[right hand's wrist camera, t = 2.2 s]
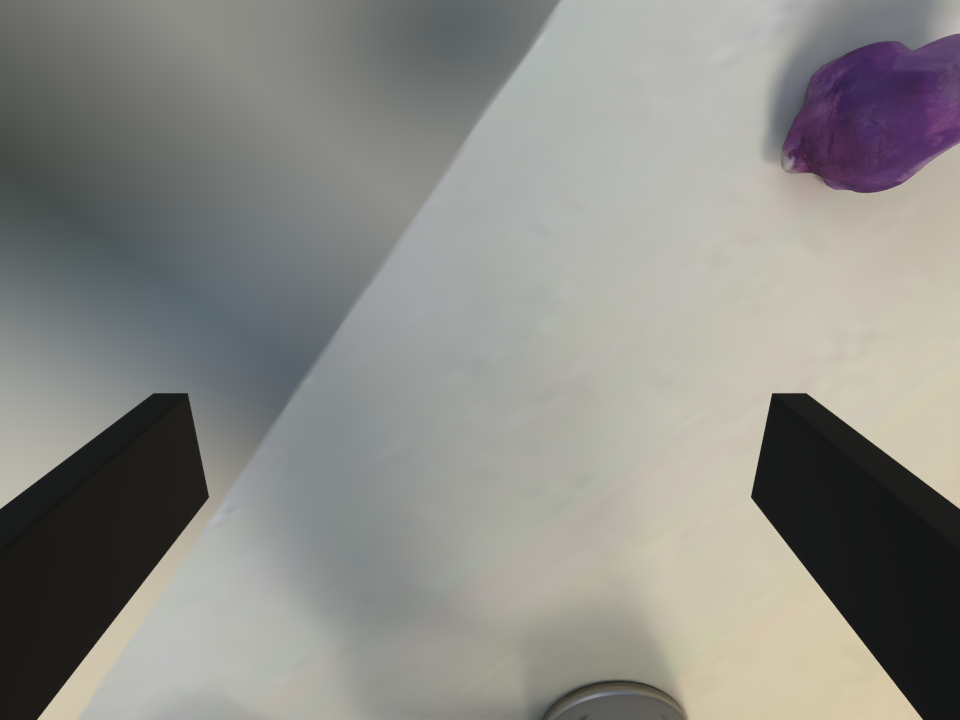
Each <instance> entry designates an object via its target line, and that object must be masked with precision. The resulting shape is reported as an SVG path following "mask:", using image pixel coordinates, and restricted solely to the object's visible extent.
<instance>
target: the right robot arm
mask: <svg viewBox="0 0 960 720" xmlns="http://www.w3.org/2000/svg"><path fill="white" fill-rule="evenodd" d="M208 498H209V495H208V490H207V485H206V480H205V475H204V471H203V466H202V461H201V456H200V451H199V446H198V441H197V436H196V431H195V426H194V422H193V417H192V412H191V407H190V402H189V397H188V394H187V393H154V394H152V395H151V396H150V397H148V398H147V399H146V400H144V401H143V402H142V403H140V404H139V405H138V406H136V407H135V408H134V409H132V410H131V411H130V412H128V413H127V414H126V415H124V416H123V417H122V418H120V419H119V420H118V421H116V422H115V423H114V424H112V425H111V426H110V427H109V428H107V429H106V430H104V431H103V432H102V433H101V434H99V435H98V436H96V437H95V438H94V439H93V440H91V441H90V442H89V443H87V444H86V445H85V446H83V447H82V448H81V449H79V450H78V451H77V452H75V453H74V454H73V455H71V456H70V457H69V458H67V459H66V460H65V461H63V462H62V463H61V464H59V465H58V466H57V467H55V468H54V469H53V470H51V471H50V472H49V473H47V474H46V475H45V476H43V477H42V478H41V479H40V480H38V481H37V482H36V483H34V484H33V485H32V486H30V487H29V488H28V489H26V490H25V491H24V492H22V493H21V494H20V495H18V496H17V497H16V498H14V499H13V500H12V501H10V502H9V503H8V504H6V505H5V506H4V507H2V508H1V509H0V720H37V719H38V718H39V716H40V715H41V714H42V713H43V711H44V710H45V709H46V707H47V706H48V705H49V703H50V702H51V701H52V700H53V698H54V697H55V696H56V694H57V693H58V692H59V691H60V689H61V688H62V687H63V685H64V684H65V683H66V681H67V680H68V679H69V678H70V676H71V675H72V674H73V672H74V671H75V670H76V669H77V667H78V666H79V665H80V663H81V662H82V661H83V659H84V658H85V657H86V656H87V654H88V653H89V652H90V650H91V649H92V648H93V647H94V645H95V644H96V643H97V641H98V640H99V639H100V638H101V636H102V635H103V634H104V632H105V631H106V630H107V628H108V627H109V626H110V625H111V623H112V622H113V621H114V619H115V618H116V617H117V616H118V614H119V613H120V612H121V610H122V609H123V608H124V607H125V605H126V604H127V603H128V601H129V600H130V599H131V597H132V596H133V595H134V594H135V592H136V591H137V590H138V588H139V587H140V586H141V585H142V583H143V582H144V581H145V579H146V578H147V577H148V576H149V574H150V573H151V572H152V570H153V569H154V568H155V566H156V565H157V564H158V563H159V561H160V560H161V559H162V557H163V556H164V555H165V554H166V552H167V551H168V550H169V548H170V547H171V546H172V544H173V543H174V542H175V541H176V539H177V538H178V537H179V535H180V534H181V533H182V531H183V530H184V529H185V528H186V526H187V525H188V524H189V523H190V521H191V520H192V519H193V517H194V516H195V515H196V513H197V512H198V511H199V510H200V508H201V507H202V506H203V504H204V503H205V502H206V501H207V499H208ZM751 498H752V499H753V501H754V502H755V503H756V504H757V506H758V507H759V508H760V510H761V511H762V512H763V513H764V515H765V516H766V517H767V519H768V520H769V521H770V523H771V524H772V525H773V526H774V528H775V529H776V530H777V532H778V533H779V534H780V535H781V537H782V538H783V539H784V541H785V542H786V543H787V544H788V546H789V547H790V548H791V550H792V551H793V552H794V554H795V555H796V556H797V557H798V559H799V560H800V561H801V563H802V564H803V565H804V566H805V568H806V569H807V570H808V572H809V573H810V574H811V576H812V577H813V578H814V579H815V581H816V582H817V583H818V585H819V586H820V587H821V588H822V590H823V591H824V592H825V594H826V595H827V596H828V597H829V599H830V600H831V601H832V603H833V604H834V605H835V607H836V608H837V609H838V610H839V612H840V613H841V614H842V616H843V617H844V618H845V619H846V621H847V622H848V623H849V625H850V626H851V627H852V629H853V630H854V631H855V632H856V634H857V635H858V636H859V638H860V639H861V640H862V641H863V643H864V644H865V645H866V647H867V648H868V649H869V650H870V652H871V653H872V654H873V656H874V657H875V658H876V660H877V661H878V662H879V663H880V665H881V666H882V667H883V669H884V670H885V671H886V672H887V674H888V675H889V676H890V678H891V679H892V680H893V681H894V683H895V684H896V685H897V687H898V688H899V689H900V691H901V692H902V693H903V694H904V696H905V697H906V698H907V700H908V701H909V702H910V703H911V705H912V706H913V707H914V709H915V710H916V711H917V713H918V714H919V715H920V716H921V718H922V719H923V720H960V509H959V508H958V507H956V506H955V505H954V504H952V503H951V502H950V501H948V500H947V499H946V498H944V497H943V496H942V495H940V494H939V493H938V492H936V491H935V490H934V489H932V488H931V487H930V486H928V485H927V484H926V483H924V482H923V481H922V480H920V479H919V478H918V477H917V476H915V475H914V474H913V473H911V472H910V471H909V470H907V469H906V468H905V467H903V466H902V465H901V464H899V463H898V462H897V461H895V460H894V459H893V458H891V457H890V456H889V455H887V454H886V453H885V452H883V451H882V450H881V449H879V448H878V447H877V446H875V445H874V444H873V443H871V442H870V441H869V440H867V439H866V438H865V437H864V436H862V435H861V434H860V433H858V432H857V431H856V430H854V429H853V428H852V427H850V426H849V425H848V424H846V423H845V422H844V421H842V420H841V419H840V418H838V417H837V416H836V415H834V414H833V413H832V412H830V411H829V410H828V409H826V408H825V407H824V406H822V405H821V404H820V403H818V402H817V401H816V400H814V399H813V398H812V397H811V396H809V395H808V394H807V393H772V397H771V402H770V407H769V412H768V417H767V422H766V426H765V431H764V436H763V441H762V446H761V451H760V456H759V461H758V465H757V470H756V475H755V480H754V485H753V490H752V495H751ZM542 720H687V719H686V716H685V714H684V712H683V710H682V709H681V707H680V706H679V705H678V704H677V703H676V702H675V701H674V700H673V699H672V698H670V697H669V696H668V695H666V694H664V693H663V692H661V691H659V690H657V689H654V688H651V687H649V686H645V685H641V684H636V683H628V682H610V683H602V684H596V685H592V686H588V687H585V688H582V689H579V690H577V691H575V692H572V693H571V694H569V695H567V696H565V697H564V698H562V699H561V700H559V701H558V702H557V703H555V704H554V705H553V706H552V707H551V708H550V709H549V710H548V711H547V713H546V714H545V715H544V717H543V719H542Z"/></svg>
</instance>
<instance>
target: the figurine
mask: <svg viewBox="0 0 960 720" xmlns="http://www.w3.org/2000/svg"><path fill="white" fill-rule="evenodd" d="M959 143H960V34H954V35H950V36H947V37H944V38H941V39H938V40H936V41H934V42H931V43H929V44H927V45H925V46H923V47H921V48H919V49H917V50H910V49H908V48H907V47H906V46H904V45H903V44H902V43H900V42H896V41H886V42H878V43H874V44H870V45H867V46H864V47H861V48H858V49H856V50H854V51H851V52H849V53H847V54H846V55H844V56H842V57H840V58H837V59H835V60H833V61H831V62H829V63H828V64H826V65H824V66H822V67H821V68H820V69H819V70H818V71H817V72H816V73H815V74H814V75H813V76H812V78H811V81H810V83H809V86H808V89H807V92H806V100H805V103H804V105H803V108H802V109H801V110H800V112H799V113H798V115H797V117H796V118H795V120H794V122H793V125H792V127H791V129H790V131H789V134H788V136H787V138H786V140H785V142H784V145H783V148H782V153H781V164H782V168H783V170H784V171H785V172H787V173H814V174H817V175H819V176H821V177H822V178H823V180H824V182H825V183H826V185H827V186H829V187H831V188H833V189H835V190H852V191H854V192H860V193H872V192H879V191H883V190H887V189H890V188H892V187H895V186H898V185H900V184H902V183H903V182H905V181H906V180H908V179H909V178H910V177H912V176H913V175H914V174H916V173H917V172H918V171H919V170H921V169H922V168H923V167H924V166H925V165H926V164H928V163H929V162H930V161H932V160H933V159H935V158H936V157H937V156H939V155H940V154H942V153H944V152H945V151H947V150H948V149H950V148H952V147H953V146H955V145H957V144H959Z"/></svg>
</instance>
